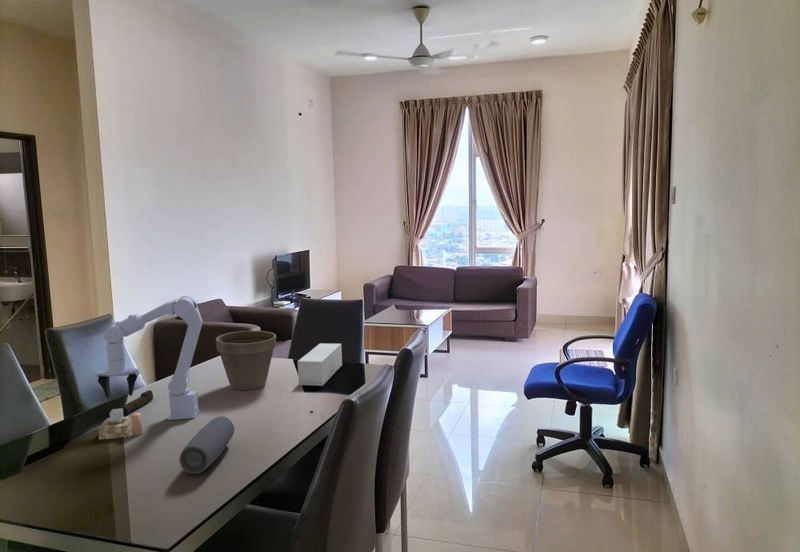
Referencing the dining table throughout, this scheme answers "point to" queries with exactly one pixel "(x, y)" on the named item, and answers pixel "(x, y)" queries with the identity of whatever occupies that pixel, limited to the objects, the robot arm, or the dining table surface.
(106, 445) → the dining table surface
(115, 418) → the square bit
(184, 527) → the dining table surface
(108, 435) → the socket block
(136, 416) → the round dowel
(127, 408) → the hand tool
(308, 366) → the long white block
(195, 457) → the bluetooth speaker
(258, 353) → the plant pot
